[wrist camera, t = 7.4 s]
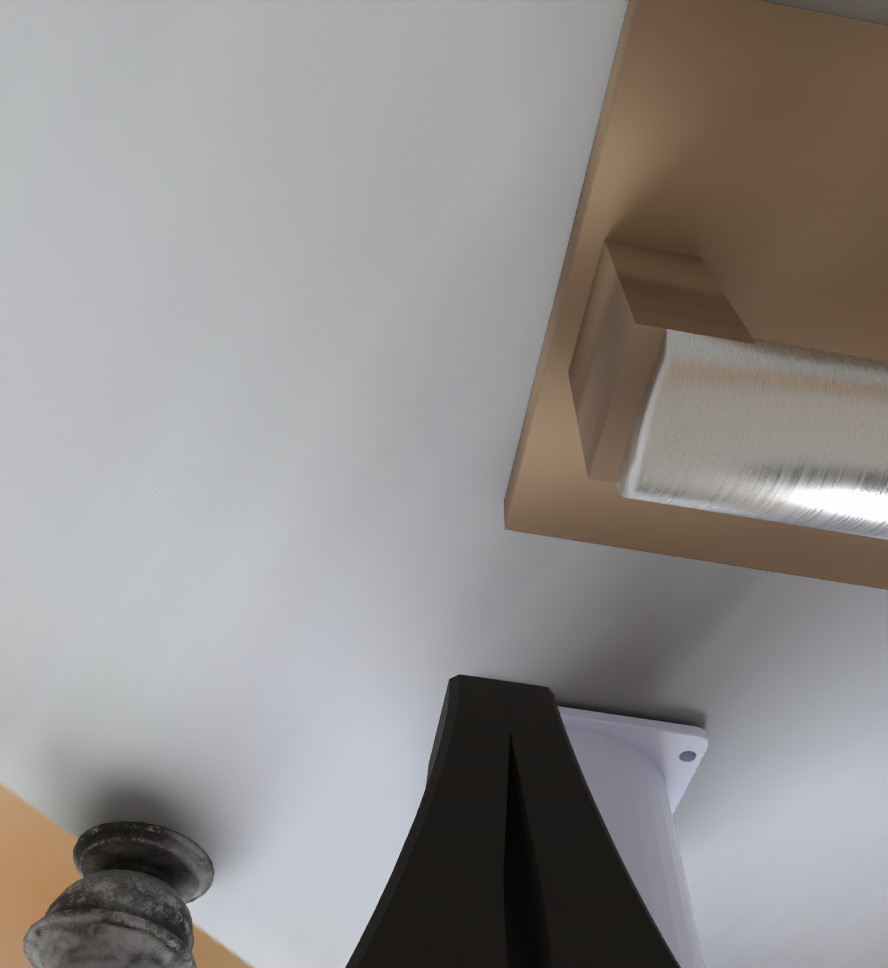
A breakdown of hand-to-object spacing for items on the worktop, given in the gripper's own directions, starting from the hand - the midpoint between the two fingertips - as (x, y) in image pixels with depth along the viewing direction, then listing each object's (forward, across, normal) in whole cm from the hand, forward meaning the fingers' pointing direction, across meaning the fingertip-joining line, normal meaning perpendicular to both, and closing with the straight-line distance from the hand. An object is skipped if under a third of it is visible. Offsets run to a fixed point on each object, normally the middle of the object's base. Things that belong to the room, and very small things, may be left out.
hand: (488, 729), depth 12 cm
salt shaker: (+10, +9, +22) cm, 26 cm away
